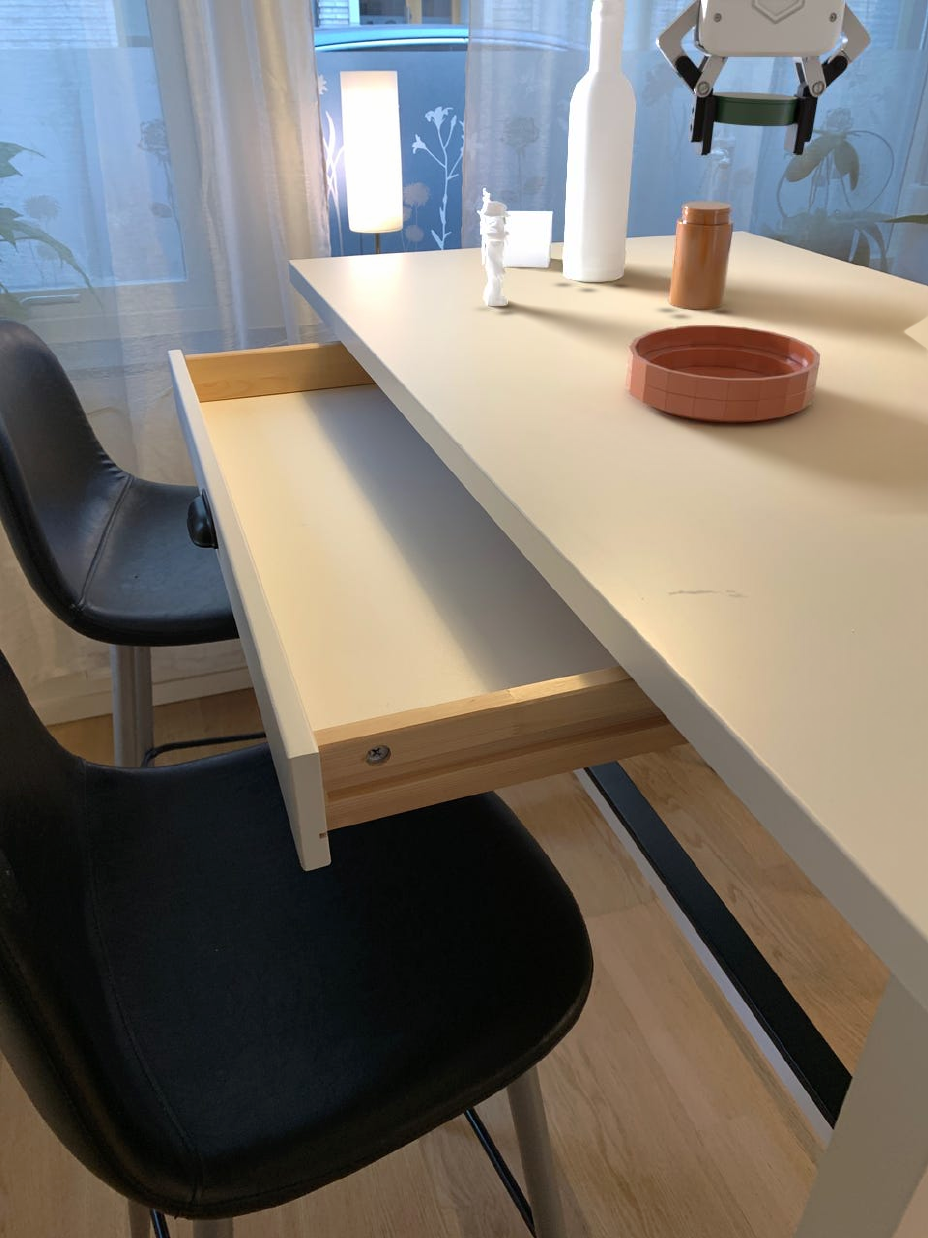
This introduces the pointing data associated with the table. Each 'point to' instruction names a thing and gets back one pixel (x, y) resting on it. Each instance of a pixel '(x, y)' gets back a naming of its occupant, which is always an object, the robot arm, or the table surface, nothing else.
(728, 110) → the lid
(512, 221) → the white cube
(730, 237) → the jar
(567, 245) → the bottle
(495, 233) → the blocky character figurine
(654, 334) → the bowl
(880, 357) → the table surface
